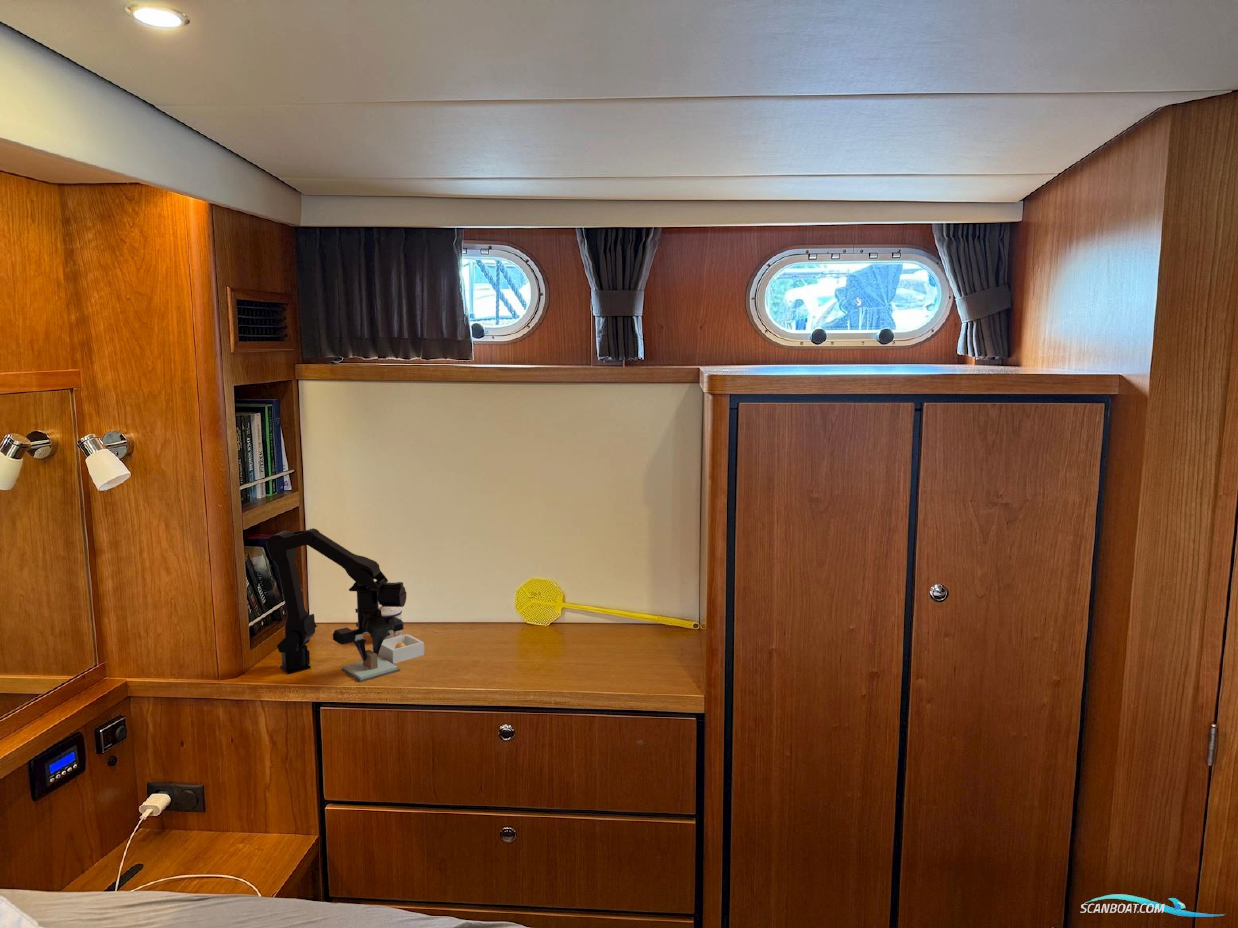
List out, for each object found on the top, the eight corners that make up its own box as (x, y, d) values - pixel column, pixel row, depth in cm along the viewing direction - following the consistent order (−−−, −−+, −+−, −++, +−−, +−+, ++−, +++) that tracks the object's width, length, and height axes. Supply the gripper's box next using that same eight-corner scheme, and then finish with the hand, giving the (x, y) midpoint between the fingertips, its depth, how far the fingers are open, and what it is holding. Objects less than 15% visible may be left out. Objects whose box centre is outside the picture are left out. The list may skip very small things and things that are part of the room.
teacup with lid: (399, 643, 244) (398, 606, 243) (369, 643, 244) (368, 607, 242) (407, 630, 256) (406, 595, 255) (379, 630, 256) (378, 595, 254)
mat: (359, 682, 214) (359, 680, 214) (341, 669, 223) (340, 668, 223) (400, 670, 222) (400, 669, 222) (380, 659, 231) (380, 657, 231)
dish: (393, 663, 227) (392, 650, 227) (377, 654, 234) (376, 641, 234) (424, 655, 234) (423, 642, 234) (407, 646, 241) (407, 633, 241)
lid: (360, 679, 215) (360, 663, 214) (343, 668, 223) (342, 652, 222) (397, 669, 222) (397, 652, 222) (379, 658, 230) (378, 642, 230)
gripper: (348, 619, 208) (350, 676, 210) (412, 605, 221) (413, 658, 223) (330, 610, 216) (333, 664, 218) (393, 596, 229) (395, 648, 231)
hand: (370, 659), depth 222 cm, fingers open, 3 cm apart
